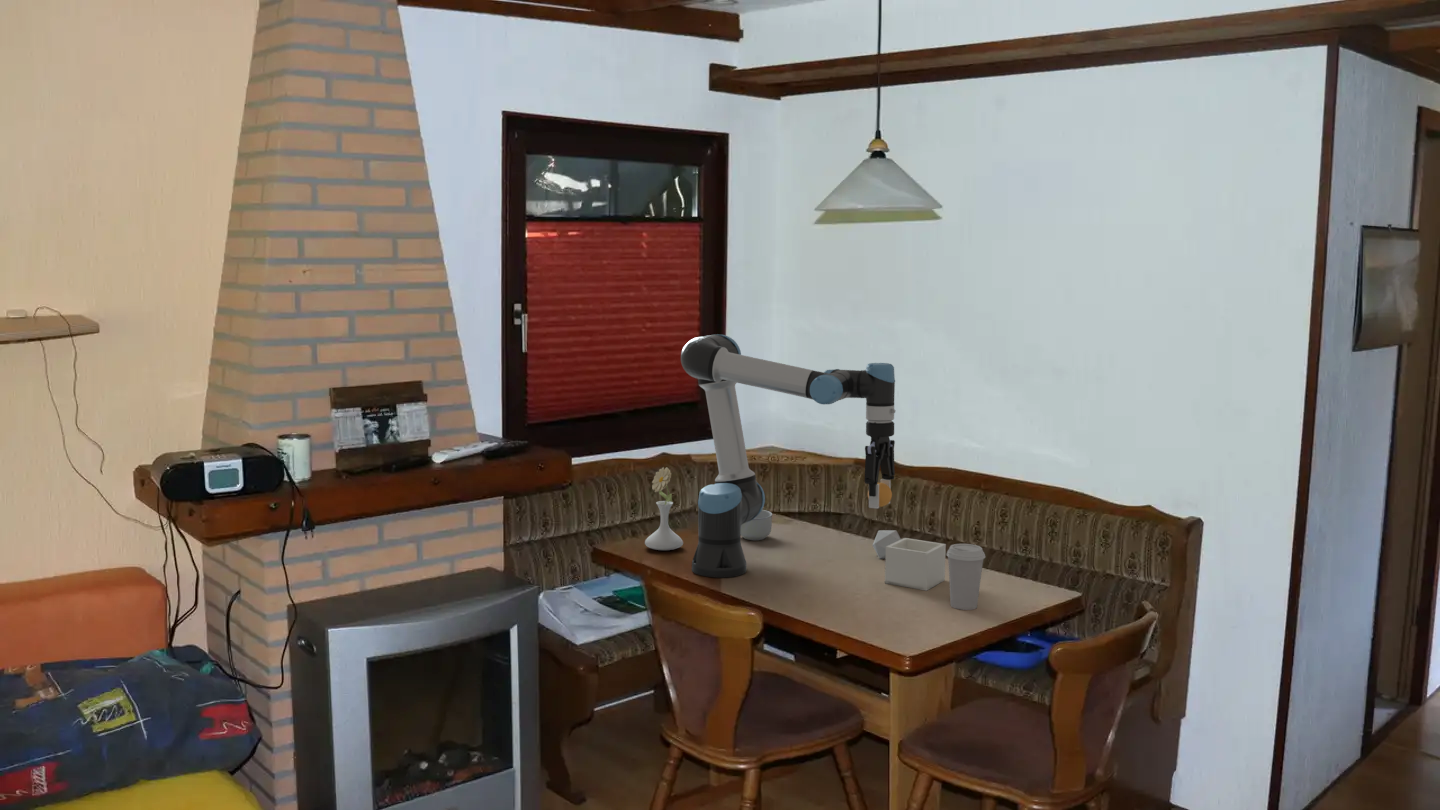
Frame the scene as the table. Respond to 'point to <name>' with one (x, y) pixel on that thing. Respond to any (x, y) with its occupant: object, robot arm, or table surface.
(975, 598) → the coffee cup
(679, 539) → the flower in vase
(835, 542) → the table surface
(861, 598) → the table surface
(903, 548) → the white open box
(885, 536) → the die
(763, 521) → the teacup
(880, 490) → the ball
